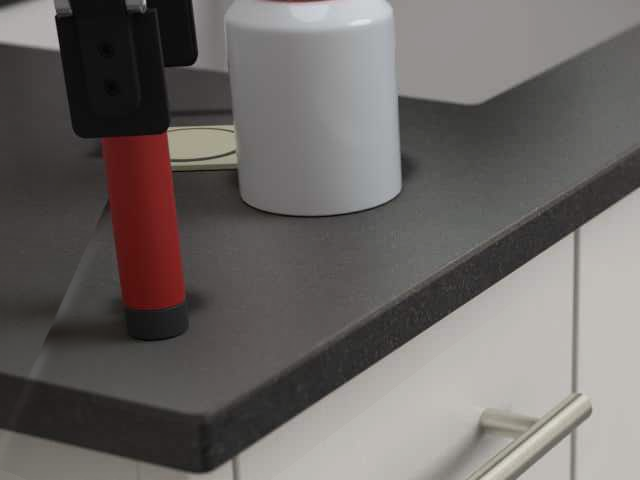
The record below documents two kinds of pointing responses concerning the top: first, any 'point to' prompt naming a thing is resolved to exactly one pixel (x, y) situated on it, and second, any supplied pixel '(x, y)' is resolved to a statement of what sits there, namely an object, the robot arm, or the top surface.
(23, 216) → the top surface
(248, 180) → the pill bottle
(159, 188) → the marker
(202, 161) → the coaster
